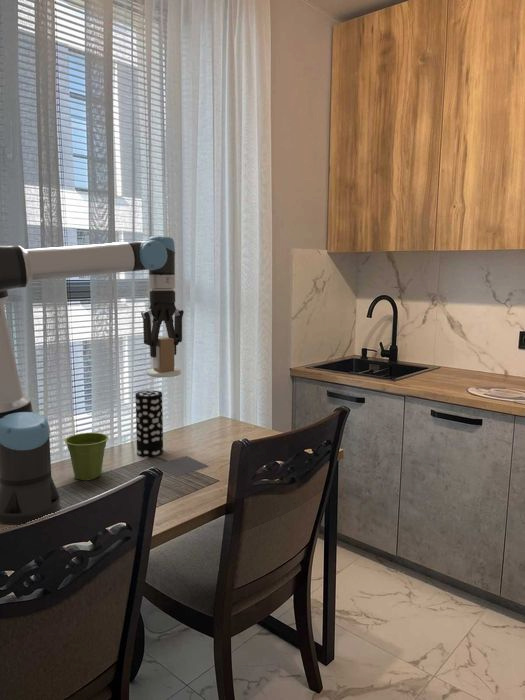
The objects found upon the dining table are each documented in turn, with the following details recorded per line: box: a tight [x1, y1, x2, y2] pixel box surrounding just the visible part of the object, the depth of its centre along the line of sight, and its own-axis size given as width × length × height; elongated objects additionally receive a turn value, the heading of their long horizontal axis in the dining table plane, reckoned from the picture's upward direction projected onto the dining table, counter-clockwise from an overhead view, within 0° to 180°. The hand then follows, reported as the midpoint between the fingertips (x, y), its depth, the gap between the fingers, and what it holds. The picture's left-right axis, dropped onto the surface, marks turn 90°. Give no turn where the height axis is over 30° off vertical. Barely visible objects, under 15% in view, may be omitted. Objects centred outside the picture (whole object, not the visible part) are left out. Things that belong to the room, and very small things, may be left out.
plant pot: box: [64, 432, 109, 481], centre depth 152 cm, size 12×12×11 cm
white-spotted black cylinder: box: [135, 390, 164, 458], centre depth 170 cm, size 8×8×20 cm
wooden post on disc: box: [146, 336, 182, 378], centre depth 162 cm, size 10×10×11 cm
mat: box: [153, 455, 210, 478], centre depth 161 cm, size 12×12×1 cm
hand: (163, 366), depth 162 cm, fingers closed on wooden post on disc, 4 cm apart
